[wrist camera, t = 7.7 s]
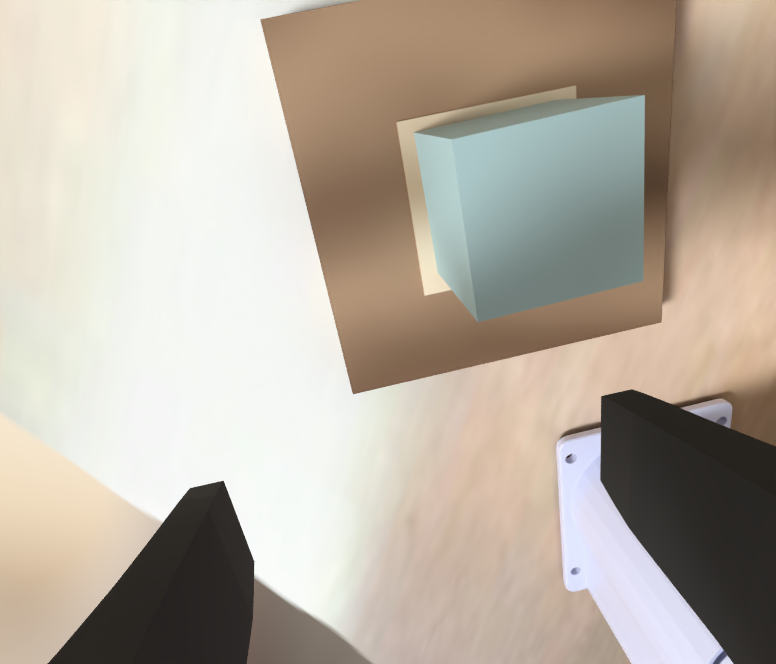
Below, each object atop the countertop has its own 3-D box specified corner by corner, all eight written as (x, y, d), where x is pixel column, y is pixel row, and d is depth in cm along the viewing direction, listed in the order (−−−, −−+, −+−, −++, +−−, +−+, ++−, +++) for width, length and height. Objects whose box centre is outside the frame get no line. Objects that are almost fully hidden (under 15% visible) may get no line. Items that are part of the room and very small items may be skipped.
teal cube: (564, 241, 17) (643, 281, 13) (437, 272, 17) (477, 322, 13) (556, 99, 16) (645, 94, 11) (413, 132, 15) (451, 139, 11)
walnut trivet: (642, 311, 20) (663, 323, 19) (350, 378, 20) (353, 395, 19) (653, -48, 15) (681, -62, 14) (264, 26, 15) (260, 18, 14)
